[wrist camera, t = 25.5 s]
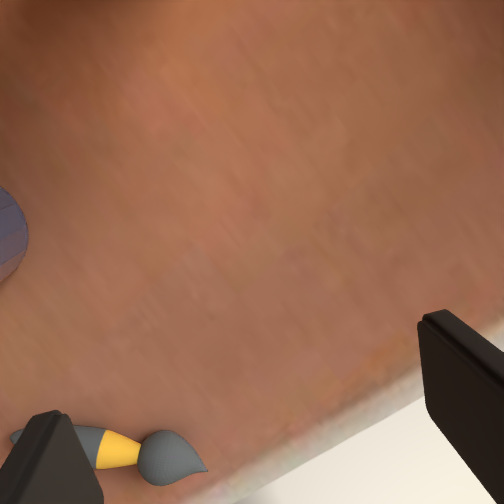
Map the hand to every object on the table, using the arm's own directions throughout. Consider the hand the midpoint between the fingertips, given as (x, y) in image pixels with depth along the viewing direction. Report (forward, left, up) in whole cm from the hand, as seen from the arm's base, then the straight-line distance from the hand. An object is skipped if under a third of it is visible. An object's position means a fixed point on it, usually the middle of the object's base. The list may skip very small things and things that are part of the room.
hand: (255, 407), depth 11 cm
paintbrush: (+21, -18, -28) cm, 39 cm away
